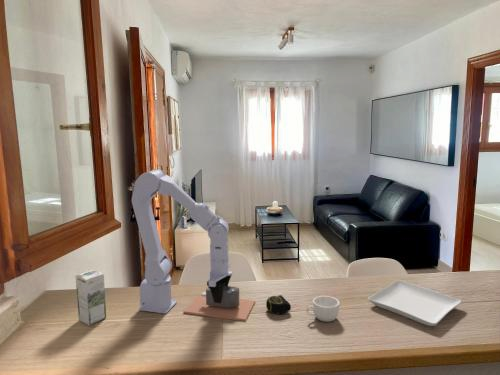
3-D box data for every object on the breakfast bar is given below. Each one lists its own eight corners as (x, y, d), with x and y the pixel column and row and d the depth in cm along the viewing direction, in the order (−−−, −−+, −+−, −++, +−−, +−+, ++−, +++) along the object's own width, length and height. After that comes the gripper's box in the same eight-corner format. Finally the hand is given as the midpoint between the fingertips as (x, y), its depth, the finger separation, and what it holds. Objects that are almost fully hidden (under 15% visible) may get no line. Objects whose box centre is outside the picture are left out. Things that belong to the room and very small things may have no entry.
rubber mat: (183, 313, 111) (183, 311, 111) (198, 296, 123) (198, 294, 123) (245, 321, 106) (245, 319, 106) (255, 302, 118) (255, 300, 118)
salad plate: (434, 334, 99) (435, 323, 99) (365, 307, 115) (366, 297, 115) (462, 309, 113) (463, 299, 113) (397, 288, 129) (398, 279, 128)
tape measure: (291, 314, 111) (291, 302, 110) (270, 317, 108) (270, 306, 108) (282, 304, 117) (283, 293, 116) (263, 307, 115) (263, 296, 114)
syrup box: (96, 312, 112) (92, 268, 109) (107, 318, 108) (103, 272, 106) (78, 320, 107) (74, 274, 105) (89, 326, 104) (85, 279, 101)
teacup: (332, 310, 112) (332, 294, 111) (343, 323, 105) (344, 306, 104) (302, 314, 110) (302, 297, 109) (311, 327, 103) (311, 309, 102)
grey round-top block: (200, 304, 114) (199, 289, 113) (205, 297, 118) (205, 283, 117) (237, 308, 111) (237, 293, 110) (241, 302, 115) (240, 287, 114)
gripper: (224, 267, 104) (224, 311, 106) (238, 251, 118) (238, 290, 120) (201, 265, 106) (202, 308, 108) (217, 250, 120) (218, 288, 122)
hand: (220, 298), depth 114 cm, fingers closed on grey round-top block, 4 cm apart
